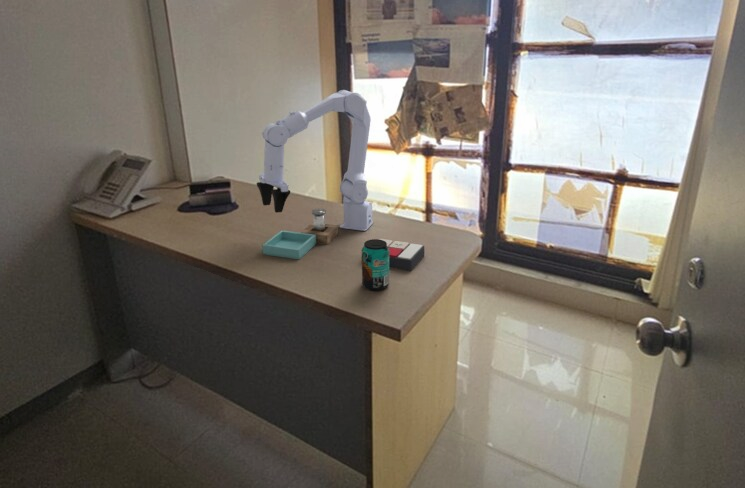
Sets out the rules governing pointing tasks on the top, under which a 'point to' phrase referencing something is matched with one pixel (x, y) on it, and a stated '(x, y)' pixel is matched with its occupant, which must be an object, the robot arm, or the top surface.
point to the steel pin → (319, 219)
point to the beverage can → (375, 265)
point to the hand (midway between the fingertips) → (272, 208)
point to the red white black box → (404, 254)
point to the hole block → (323, 233)
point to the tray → (289, 244)
